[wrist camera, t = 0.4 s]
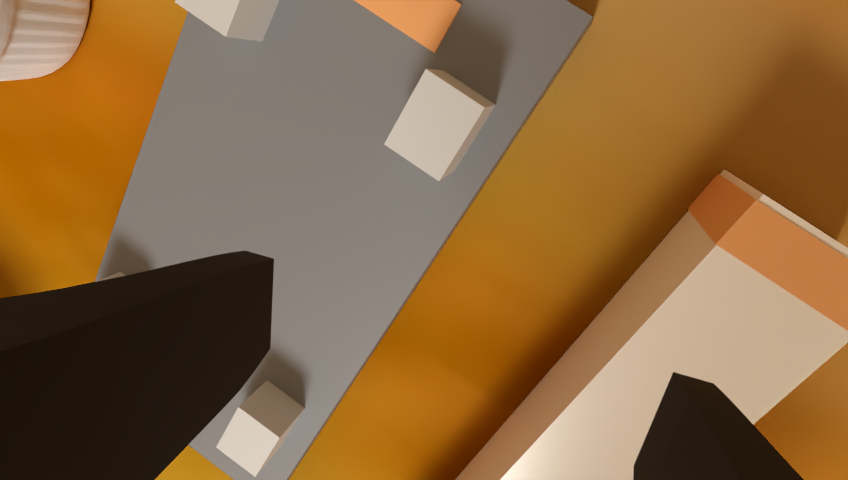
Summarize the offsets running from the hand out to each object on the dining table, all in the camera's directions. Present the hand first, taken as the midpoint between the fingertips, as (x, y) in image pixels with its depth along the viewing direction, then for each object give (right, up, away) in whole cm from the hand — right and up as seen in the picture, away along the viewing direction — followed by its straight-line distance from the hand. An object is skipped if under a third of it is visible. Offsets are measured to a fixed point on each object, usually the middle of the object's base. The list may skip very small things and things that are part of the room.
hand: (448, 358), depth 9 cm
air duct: (+5, -5, +11) cm, 13 cm away
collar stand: (-6, +3, +12) cm, 14 cm away
